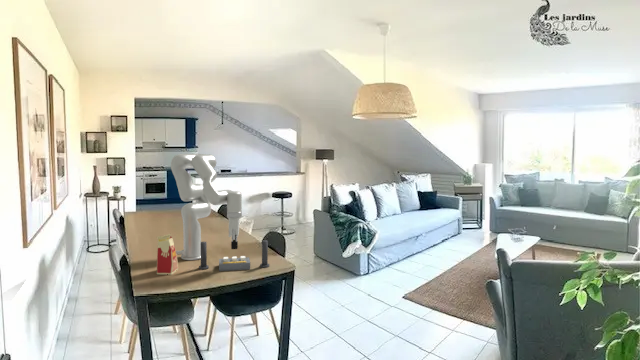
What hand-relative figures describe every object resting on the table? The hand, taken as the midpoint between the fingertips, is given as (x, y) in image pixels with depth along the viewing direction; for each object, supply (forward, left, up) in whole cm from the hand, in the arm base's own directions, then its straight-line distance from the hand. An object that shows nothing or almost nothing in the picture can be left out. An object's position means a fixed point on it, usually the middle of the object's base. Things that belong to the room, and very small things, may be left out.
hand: (234, 248), depth 212 cm
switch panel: (0, 0, -11) cm, 11 cm away
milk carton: (-34, -4, -10) cm, 36 cm away
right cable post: (+16, 0, -10) cm, 19 cm away
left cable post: (-16, 0, -10) cm, 19 cm away
